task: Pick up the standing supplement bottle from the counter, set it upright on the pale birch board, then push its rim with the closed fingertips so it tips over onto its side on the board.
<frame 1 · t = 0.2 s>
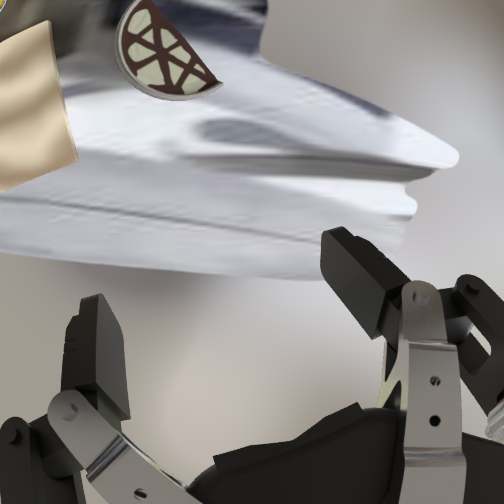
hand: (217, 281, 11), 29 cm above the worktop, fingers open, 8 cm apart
birch board: (5, 114, 24), on the worktop
food container: (152, 61, 28), on the worktop
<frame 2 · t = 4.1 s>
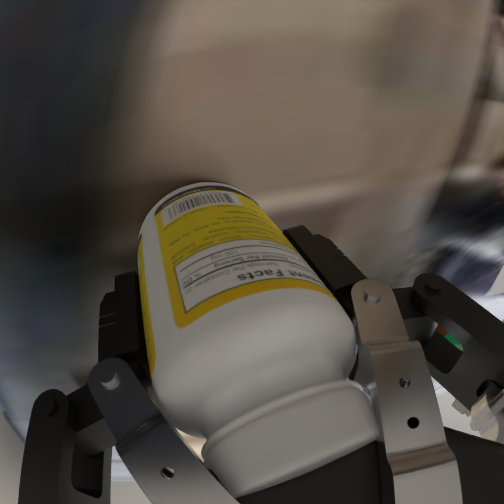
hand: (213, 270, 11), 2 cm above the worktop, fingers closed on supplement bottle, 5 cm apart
supplement bottle: (202, 237, 13), on the worktop, touching gripper
food container: (428, 324, 26), on the worktop
when the fingers open (4 cm above the worktop, at t = 9.1 s): supplement bottle stays where it is, resting on birch board.
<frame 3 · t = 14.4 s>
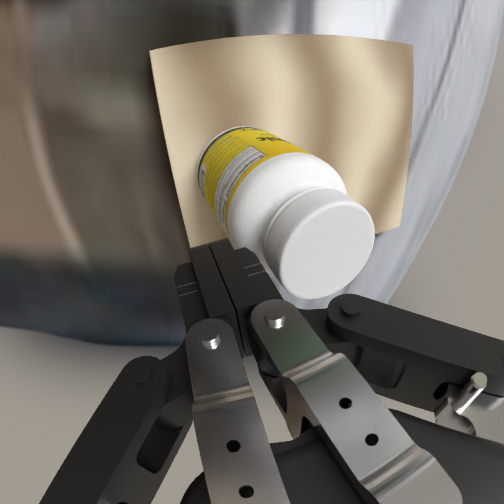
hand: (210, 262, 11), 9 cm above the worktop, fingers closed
birch board: (303, 148, 20), on the worktop
supplement bottle: (238, 166, 18), point 1 cm above the worktop, touching birch board, gripper
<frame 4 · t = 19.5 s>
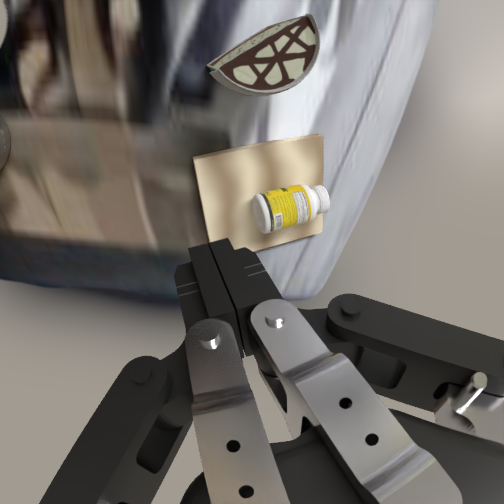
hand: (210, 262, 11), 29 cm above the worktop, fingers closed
birch board: (263, 196, 44), on the worktop
supplement bottle: (256, 214, 41), point 4 cm above the worktop, touching birch board
food container: (250, 63, 33), on the worktop
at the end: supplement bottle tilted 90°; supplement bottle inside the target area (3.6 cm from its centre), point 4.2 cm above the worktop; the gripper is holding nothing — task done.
